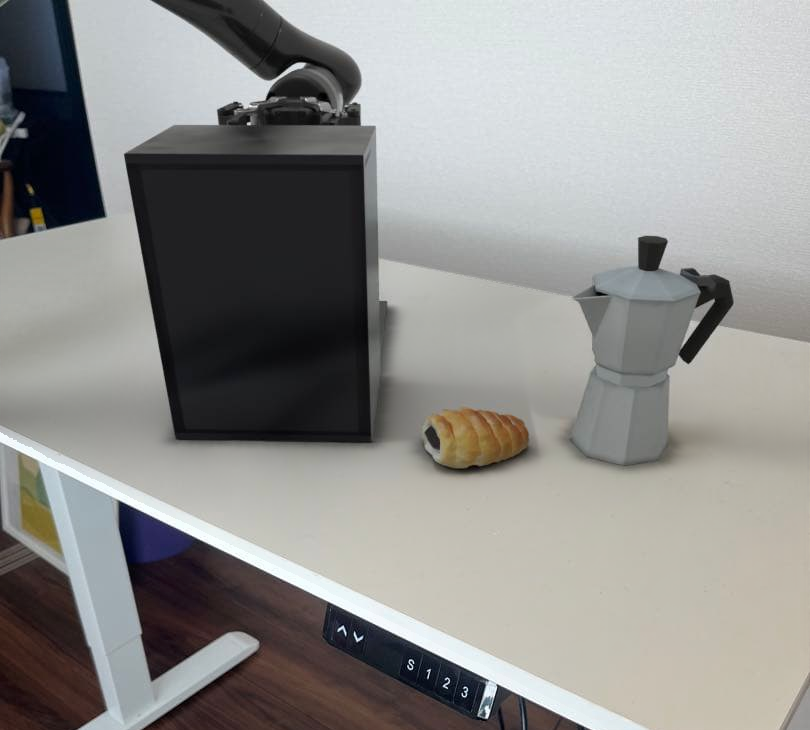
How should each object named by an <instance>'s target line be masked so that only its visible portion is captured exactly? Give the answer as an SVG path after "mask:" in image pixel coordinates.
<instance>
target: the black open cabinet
mask: <svg viewBox="0 0 810 730" xmlns="http://www.w3.org/2000/svg"><path fill="white" fill-rule="evenodd" d="M377 156H378V155H377V126H376V125H361V126H324V125H251V124H247V125H219V124H173V125H171V126H170V127H168V128H165V130H162V131H161V132H159V133H157V134H155V135H154V136H152V137H151V138H149V139H147V140H145V141H143V142H142V143H140V144H139V145H136V146H135V147H133V148H132V149H130V150H128V151H126V152H125V153H123V157H124V163H125V170H126V175H127V181H128V187H129V191H130V196H131V203H132V209H133V213H134V214H133V215H134V218H135V224H136V229H137V236H138V241H139V247H140V252H141V258H142V263H143V268H144V274H145V279H146V284H147V290H148V295H149V301H150V307H151V312H152V317H153V318H152V319H153V323H154V329H155V334H156V340H157V346H158V351H159V356H160V357H159V358H160V362H161V368H162V372H163V378H164V385H165V389H166V394H167V395H166V396H167V401H168V405H169V411H170V417H171V422H172V428H173V432H174V438H175V440H201V441H203V440H204V441H206V440H208V441H258V442H259V441H260V442H261V441H265V442H268V441H269V442H323V443H324V442H325V443H372V440H373V434H374V429H375V428H374V427H375V421H376V413H377V407H378V401H379V396H380V395H379V394H380V387H381V380H382V371H381V368H382V367H381V364H382V363H381V352H382V351H381V350H382V346H383V338H384V332H385V326H386V325H385V324H386V322H387V321H386V320H387V314H388V300H380V266H379V261H380V260H379V217H378V216H379V215H378V214H379V212H378V209H379V208H378V165H377V164H378V162H377V159H378V157H377Z"/></svg>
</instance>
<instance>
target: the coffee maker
mask: <svg viewBox="0 0 810 730" xmlns="http://www.w3.org/2000/svg"><path fill="white" fill-rule="evenodd" d="M668 243H669V240H668V239H667V237H664V236H663V237H662V236H658V235H642V236H639V237H637V257H638V258H637V265H636V266H635V265H634V266H625V267H617V268H614V269H609V270H608V271H604V272H600V273H597V274H593V275H592V278H591V279H592V281H591V282H592V283H591V284H592V285H591V286H589V287H588V288H586V289H583V290H582V291H581V292H579V293H577V294H576V295H574V296H573V297H571V299H572V300H573V301H576V302H577V303H578V304H579V307H580V308H581V312H582V314H583V316H584V319H585V321H586V324H587V325H588V328H589V331H590V334H591V351H592V353H593V358H594V363H595V365H594V366H593V368H592V369H591V370H590V372H589V375H588V379H587V382H586V385H585V388H584V392H583V395H582V399H581V402H580V405H579V408H578V411H577V414H576V417H575V421H574V424H573V428H572V431H571V435H570V437H569V441H571V443H572V444H573V445H574V446H576V448H577V449H578V450H579V451H581V453H582V454H583V455H585V457H587V458H592V459H595V460H599V461H603V462H608V463H612V464H616V465H620V466H629V465H635V464H643V463H649V462H655V461H660V460H659V459H660V458H661V456H662V454H663V453H664V451H665V449H666V448H667V447H668V444H669V443H668V441H669V413H670V412H669V410H670V375H669V374H668V371H669V369H670V368H673V367H674V366H676V363H677V361H678V359H679V358H680V359H681V360H682V361H683V362H684V363H685V364H687V365H690V364H691V363H692V362H693V360H694V359H695V358H696V356H697V355H698V354H699V352H700V351H701V350H702V348H703V347H704V345H705V344H706V343H707V342H708V340H709V339H710V337H711V336H712V334H713V333H714V332H715V331H716V329H717V328H718V326H720V323H722V321H723V320H724V319H725V317H726V315H727V314H728V313H729V312H730V310H731V308H733V306H734V297H733V296H734V295H733V293H732V292H733V291H732V287H731V283H730V280H729V279H727V278H725V277H722V276H720V275H718V274H715V273H714V274H703V275H701V274H700V273H699V272H698V271H697V270H696V268H694V267H686V268H685V267H684V268H683V267H682V268H680V271H679V273H676V272H672V271H669V270H666V269H663V268H660V266H661V262H662V259H663V257H664V253H665V252H666V248H667V246H668ZM713 300H714V301H713ZM711 301H713V303H712V305H711V306H710V307H709V309H708V310H707V312H706V313H705V314H704V316H703V317H702V319H701V320H700V321H699V323H698V324H697V325H696V327H695V329H694V330H693V331H692V333H691V334H690V335H689V337H688V338H687V340H686V341H685V343H684V340H685V338H686V335H687V332H688V328H689V326H690V323H691V321H692V318H693V314H694V312H695V309H697V308H699V307H701V306H703V305H705V304H708V303H709V302H711Z"/></svg>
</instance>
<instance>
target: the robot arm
mask: <svg viewBox="0 0 810 730" xmlns="http://www.w3.org/2000/svg"><path fill="white" fill-rule="evenodd" d="M8 1H9V0H0V8H1V7H2V6H4V5H5V4H6V3H8ZM150 1H151V2H152V3H154V4H155V5H158V6H159V7H161V8H163V9H164V10H166V11H167V12H170V13H171V14H173V15H175V16H176V17H178V18H179V19H181V20H183V21H184V22H186V23H188V24H189V25H191V26H192V27H193V28H195V29H196V30H198V31H199V32H201V33H202V34H203V35H205V36H206V37H207V38H209V39H210V40H211V41H213V42H214V43H216V44H217V45H218V46H219V47H221V48H222V49H223V50H224V51H226V52H227V53H228V54H229V55H230V56H232V58H234V59H235V60H236V61H238V62H239V63H241V64H242V65H243V66H244V67H246V68H247V69H248V70H249V71H250V72H251V73H253V74H254V75H255V76H257V77H258V78H259V79H261V80H263V81H266V82H270V81H271V82H272V81H274V80H276V79H277V80H276V81H275V82H274V83H273V84H272V85H271V86H270V88H269V90H268V92H267V94H266V96H265V99H264V100H258V101H251V102H250V103H249V104H248V107H247V108H245V107H244V104H243V103H242V102H239V101H233V102H230V103H228V104H226V105H223V106H222V107H219V108H217V109H216V115H217V123H218V124H217V125H248V124H249V123H250V125H324V126H362V104H361V103H358V102H357V101H356V102H353V100H354V99H355V98H356V96H357V95H358V94H359V92H360V90H361V88H362V84H363V76H362V73H361V69H360V66H359V64H358V63H357V62H356V61H355V59H354V58H353V57H352V56H351V55H350V54H349V53H347V52H346V51H345V50H343V49H341V48H340V47H337V46H335V45H334V44H331V43H329V42H327V41H325V40H322V39H319V38H317V37H315V36H313V35H310V34H309V33H308V32H305V31H303V30H301V29H300V28H298V27H297V26H295V25H294V24H292V23H291V22H289V21H288V20H287V19H285V18H284V17H283V16H282V15H281V14H280V13H279V12H278V11H276V10H275V9H274V8H273V7H272V6H271V5H269V3H268V2H266V1H265V0H150ZM296 64H304V65H303V66H302V67H301V68H297V69H294V70H291V71H289V72H288V73H286V74H284V75H283V73H285V72H286V71H287V70H289V69H290V68H291V67H292V66H294V65H296ZM281 75H283V76H282V77H280V76H281ZM278 77H280V78H278Z"/></svg>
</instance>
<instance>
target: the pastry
mask: <svg viewBox="0 0 810 730" xmlns="http://www.w3.org/2000/svg"><path fill="white" fill-rule="evenodd" d="M422 425H423V426H422V428H421V433H420V436H421V438H422V440H423V443H424V445H423V447H424V449H425V451H426V452H428V454H429V455H431V456H432V458H433V460H434V461H435V462H436V463H437V464H439V465H442V466H444V467H448V468H450V469H454V470H455V469H467V468H468V467H471V466H478V467H483V466H488V465H490V464H492V463H499V462H501V461H503V460H504V461H506V460H508V459H511V458H513V457H515V456H517V455H519V454H520V453H521V452H522V451H524V450H525V449H527V447H528V445H529V442H530V433H529V430H528V428H527V427H526V424H525V422H524V420H523V419H521V418H518V417H516V416H514V415H512V414H508V413H506V414H500V413H498V412H497V411H489V410H483V409H476V410H475V409H473V408H470V407H469V408H468V407H461V408H459V409H458V410H454V409H442V410H441V412H440V413H438V414H429V415H428V416H427V419H426V420H425V422H424V423H423V424H422Z"/></svg>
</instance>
